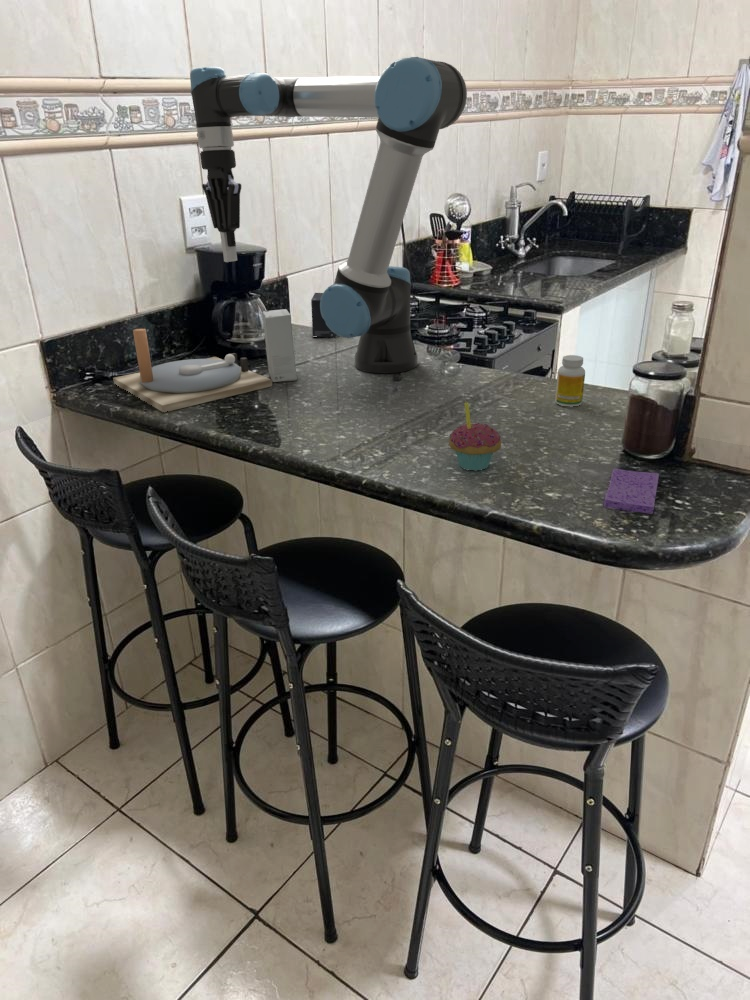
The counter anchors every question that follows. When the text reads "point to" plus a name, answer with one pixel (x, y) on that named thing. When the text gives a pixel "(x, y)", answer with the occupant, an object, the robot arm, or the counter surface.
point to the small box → (319, 319)
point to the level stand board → (181, 400)
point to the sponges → (632, 491)
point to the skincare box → (279, 345)
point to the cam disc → (183, 371)
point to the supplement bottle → (570, 381)
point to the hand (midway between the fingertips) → (230, 261)
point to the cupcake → (474, 443)
